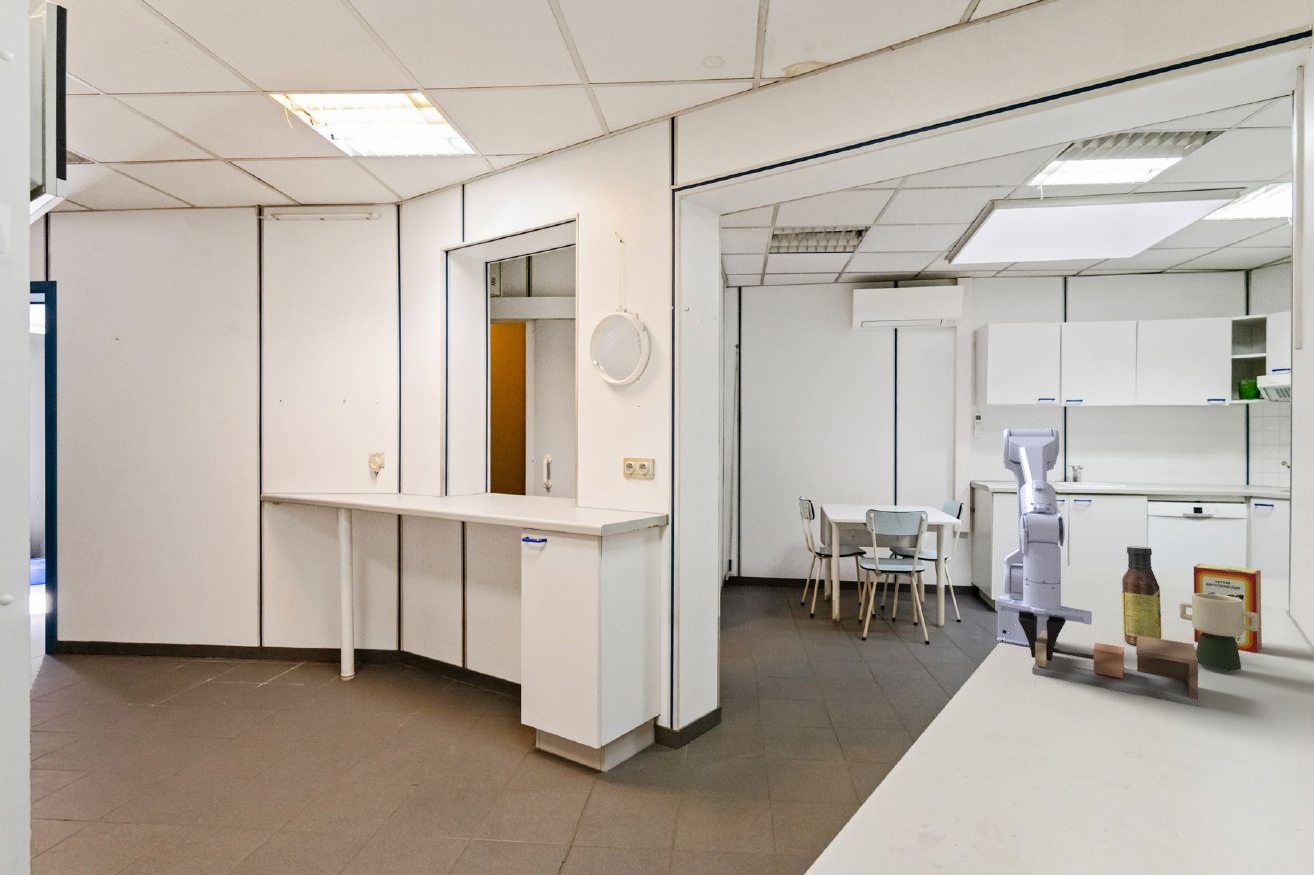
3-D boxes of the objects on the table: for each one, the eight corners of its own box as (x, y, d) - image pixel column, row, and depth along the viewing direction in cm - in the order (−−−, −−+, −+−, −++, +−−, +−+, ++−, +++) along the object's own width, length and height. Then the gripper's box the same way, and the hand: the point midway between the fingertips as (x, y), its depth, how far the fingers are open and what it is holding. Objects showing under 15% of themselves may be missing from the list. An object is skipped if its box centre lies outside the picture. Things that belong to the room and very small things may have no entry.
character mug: (1263, 674, 111) (1262, 600, 111) (1254, 682, 106) (1253, 605, 107) (1185, 657, 119) (1185, 589, 120) (1174, 664, 115) (1173, 593, 116)
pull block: (1035, 665, 109) (1035, 642, 109) (1042, 652, 117) (1042, 630, 117) (1122, 682, 102) (1122, 657, 102) (1124, 666, 109) (1124, 643, 110)
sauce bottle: (1168, 650, 124) (1167, 550, 124) (1133, 647, 125) (1132, 548, 126) (1149, 640, 130) (1148, 545, 131) (1116, 638, 131) (1115, 544, 132)
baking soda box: (1194, 641, 130) (1193, 565, 130) (1200, 636, 134) (1199, 562, 134) (1257, 653, 123) (1256, 572, 123) (1261, 647, 127) (1260, 568, 127)
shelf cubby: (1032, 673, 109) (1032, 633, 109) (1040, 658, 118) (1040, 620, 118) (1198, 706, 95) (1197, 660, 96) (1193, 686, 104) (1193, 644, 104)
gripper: (991, 578, 112) (991, 654, 112) (1089, 590, 103) (1090, 673, 103) (999, 573, 118) (999, 645, 117) (1092, 583, 109) (1092, 662, 108)
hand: (1041, 657), depth 110 cm, fingers closed on pull block, 2 cm apart
